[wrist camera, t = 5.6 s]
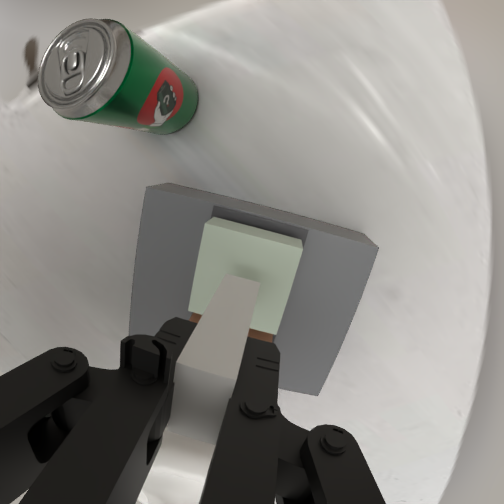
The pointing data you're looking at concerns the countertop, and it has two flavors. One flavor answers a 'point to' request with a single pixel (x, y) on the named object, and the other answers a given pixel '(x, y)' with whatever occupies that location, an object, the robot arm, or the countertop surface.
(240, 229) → the sage key
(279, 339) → the button panel
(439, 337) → the countertop surface
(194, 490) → the white floating cup sculpture
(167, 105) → the soda can
